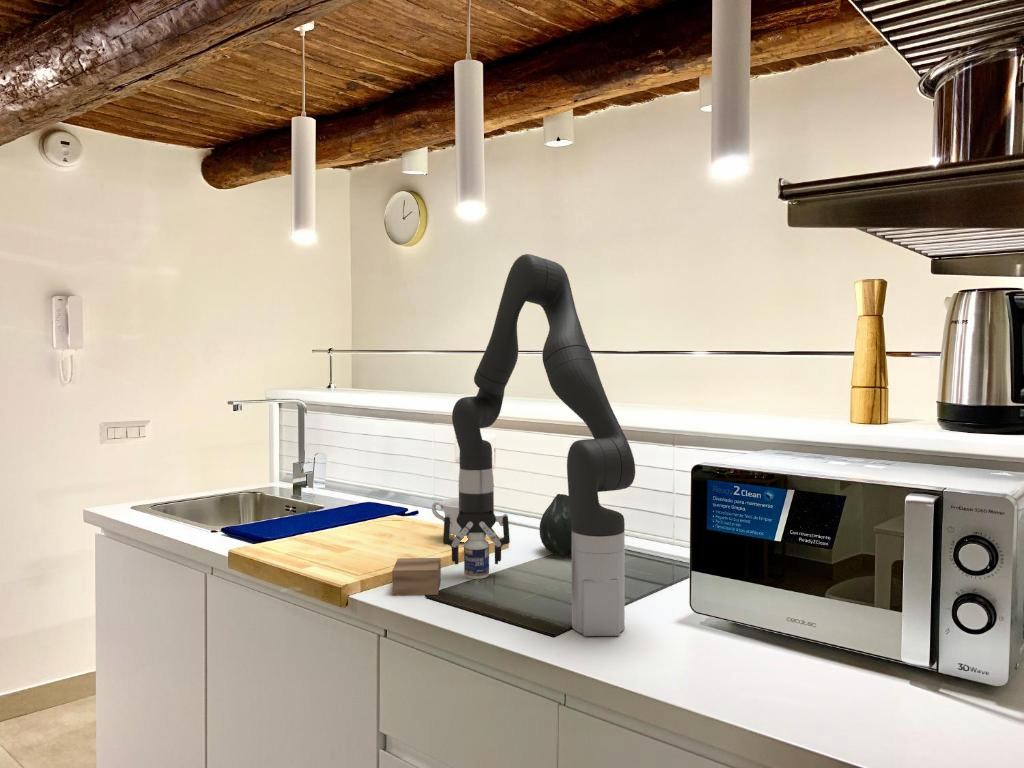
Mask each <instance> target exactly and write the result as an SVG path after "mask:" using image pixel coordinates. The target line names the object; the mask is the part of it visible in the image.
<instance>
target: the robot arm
mask: <svg viewBox="0 0 1024 768" xmlns="http://www.w3.org/2000/svg"><path fill="white" fill-rule="evenodd" d="M568 276H569V275H568V274H567V272H566V270H565V268H564V267H563V265H561V264H560V263H558V262H556V261H553V260H551V259H547V258H544V257H540V256H538V255H534V254H529V253H524V254H521V255H520V256H518V257H517V258H516V260H515V261H514V262H513V263H512V266H511V267H510V269H509V272H508V274H507V277H506V280H505V283H504V287H503V292H502V295H501V298H500V301H499V305H498V308H497V312H496V313H497V314H496V317H495V320H494V324H493V329H492V332H491V335H490V338H489V341H488V344H487V346H486V348H485V350H484V353H483V356H481V360H480V361H479V365H477V368H476V371H475V374H474V376H473V382H474V384H475V386H476V387H477V388H478V391H477V394H476V395H475V396H464V397H461V398H460V399H458V400H457V401H456V402H455V404H454V405H453V409H452V414H451V420H452V425H453V430H454V433H455V438H456V443H457V445H458V448H459V474H458V498H459V514H458V516H457V517H454V516H450V515H446V516H445V515H444V518H445V519H444V521H443V539H442V544H443V545H448V546H450V547H451V561H452V562H454V565H459V559H460V558H459V557H460V555H459V548H460V547H459V544H461V543H460V541H461V540H462V539H463V538H464V536H465V535H468V533H484V535H486V536H487V537H488V538H489V539H490V540H491V541H492V542H493V544H494V565H498V564H499V562H501V561H502V547H503V546H505V545H509V544H510V525H509V516H508V514H506V513H505V514H503V515H495V513H494V512H495V509H494V508H495V505H494V502H495V501H494V500H495V499H494V497H495V496H494V494H495V493H494V492H495V491H494V489H495V488H494V487H495V483H494V474H493V472H494V471H493V449H492V447H493V446H492V444H491V442H489V441H488V440H486V439H483V437H482V433H481V429H486V428H489V427H491V426H492V425H493V424H495V423H496V421H497V419H498V418H499V416H500V413H501V411H502V406H503V401H504V396H505V388H506V387H507V384H508V383H509V381H510V378H511V376H512V374H513V372H514V370H515V367H516V366H517V361H518V357H519V339H518V338H519V337H518V320H519V315H520V313H521V311H522V309H523V307H524V305H525V303H526V302H528V303H531V304H534V305H538V306H540V307H541V308H542V309H543V311H544V314H545V316H546V319H547V322H548V323H547V324H548V326H549V327H548V328H549V331H548V334H547V337H546V339H545V342H544V345H543V349H542V363H543V367H544V370H545V374H546V376H547V378H548V382H549V385H550V388H551V389H552V391H553V392H554V394H555V395H556V396H557V398H558V399H560V401H562V403H564V404H565V405H566V406H567V407H568V408H569V409H570V410H571V411H572V412H573V413H574V414H575V415H577V416H578V417H579V418H580V420H582V421H583V423H584V424H585V426H586V427H587V428H588V429H589V431H590V433H591V435H592V437H593V438H588V439H586V438H585V439H578V440H575V441H574V442H572V444H570V447H569V449H568V452H567V458H566V459H567V460H566V474H567V490H568V492H567V493H568V496H569V512H570V517H571V524H572V554H571V627H572V629H573V630H575V632H577V633H580V634H582V635H583V637H610V636H611V637H614V636H615V637H617V636H620V634H621V632H623V631H624V630H625V627H626V626H625V624H626V623H625V617H626V616H625V615H626V614H625V613H626V612H625V608H626V607H625V545H626V543H625V539H626V538H625V536H626V535H625V530H626V529H625V525H626V524H625V517H624V515H623V514H622V513H621V512H619V511H617V510H615V509H610V508H607V507H604V506H602V505H601V504H600V500H599V493H602V492H612V491H621V490H625V489H627V488H629V487H630V486H632V484H633V483H634V480H635V477H636V463H635V457H634V454H633V451H632V448H631V445H630V444H629V441H628V439H627V437H626V434H625V433H624V431H623V428H622V427H621V425H620V423H619V421H618V418H617V417H616V414H615V412H614V410H613V409H612V408H613V407H612V406H611V404H610V400H609V399H608V397H607V395H606V391H605V389H604V387H603V383H602V381H601V379H600V375H599V371H598V368H597V365H596V363H595V359H594V357H593V354H592V351H591V349H590V346H589V345H588V342H587V339H586V337H585V334H584V330H583V327H582V325H581V321H580V319H579V316H578V312H577V308H576V305H575V300H574V296H573V292H572V287H571V283H570V280H569V277H568ZM454 522H457V523H458V525H459V526H460V527H461V530H460V531H459V532H458V534H457V535H456V537H455V538H454V537H453V538H451V537H450V535H451V534H450V527H452V526H453V525H454ZM496 522H497V523H498V524H499V526H500V527H502V530H503V531H502V532H503V537H501V538H500V536H499V535H497V532H495V529H493V527H494V525H495V524H496Z"/></svg>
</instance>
